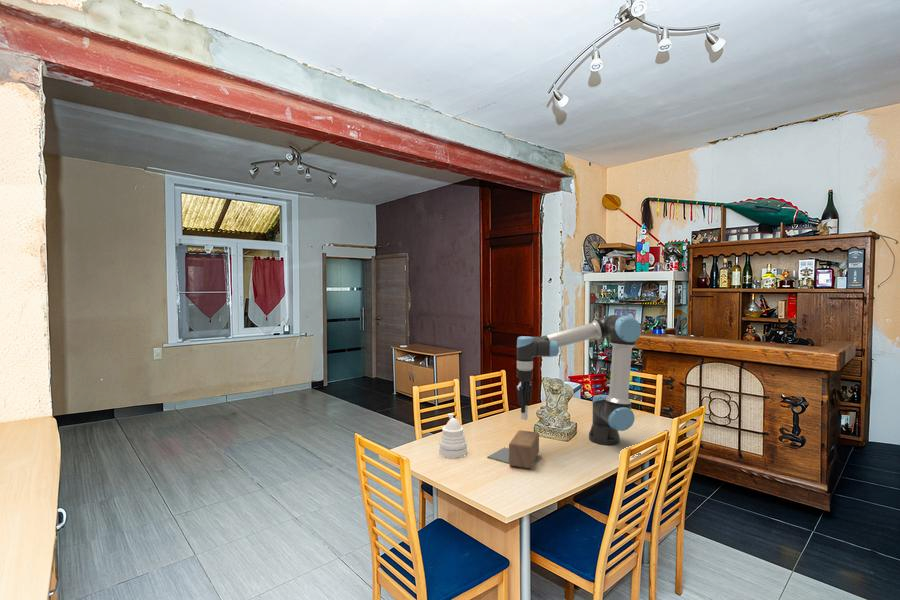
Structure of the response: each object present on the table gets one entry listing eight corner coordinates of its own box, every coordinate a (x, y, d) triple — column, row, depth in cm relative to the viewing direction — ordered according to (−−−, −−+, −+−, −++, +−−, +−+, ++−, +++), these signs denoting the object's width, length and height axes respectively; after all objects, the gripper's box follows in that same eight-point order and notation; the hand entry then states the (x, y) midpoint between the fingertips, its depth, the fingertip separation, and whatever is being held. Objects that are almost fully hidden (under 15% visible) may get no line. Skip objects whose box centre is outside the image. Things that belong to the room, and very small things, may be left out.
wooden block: (539, 431, 208) (531, 446, 189) (539, 453, 208) (531, 469, 189) (518, 429, 211) (508, 443, 193) (518, 450, 212) (508, 465, 193)
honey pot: (433, 452, 210) (434, 414, 210) (454, 446, 219) (454, 409, 218) (451, 460, 200) (451, 421, 200) (472, 453, 209) (472, 415, 208)
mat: (542, 458, 203) (542, 457, 203) (526, 468, 191) (526, 467, 191) (504, 448, 215) (504, 447, 215) (487, 457, 204) (487, 456, 204)
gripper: (524, 366, 217) (523, 414, 217) (510, 370, 206) (510, 420, 207) (538, 368, 212) (537, 417, 213) (525, 372, 202) (524, 423, 202)
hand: (524, 419), depth 210 cm, fingers closed
